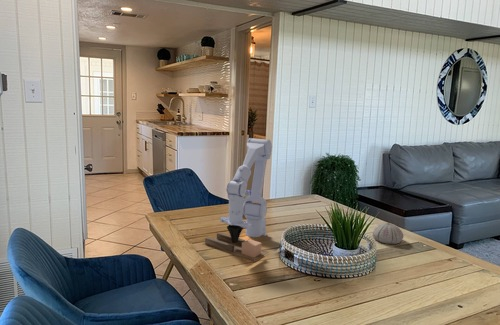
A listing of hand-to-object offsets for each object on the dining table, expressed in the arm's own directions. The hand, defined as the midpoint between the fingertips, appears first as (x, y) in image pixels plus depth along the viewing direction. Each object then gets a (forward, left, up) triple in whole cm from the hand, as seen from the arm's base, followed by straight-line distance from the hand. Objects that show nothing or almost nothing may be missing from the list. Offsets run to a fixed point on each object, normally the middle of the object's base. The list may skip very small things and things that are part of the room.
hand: (234, 242), depth 158 cm
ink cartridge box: (-43, -28, -4) cm, 51 cm away
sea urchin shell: (-54, +46, -4) cm, 71 cm away
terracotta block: (0, +9, -2) cm, 9 cm away
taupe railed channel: (0, 0, -3) cm, 3 cm away
